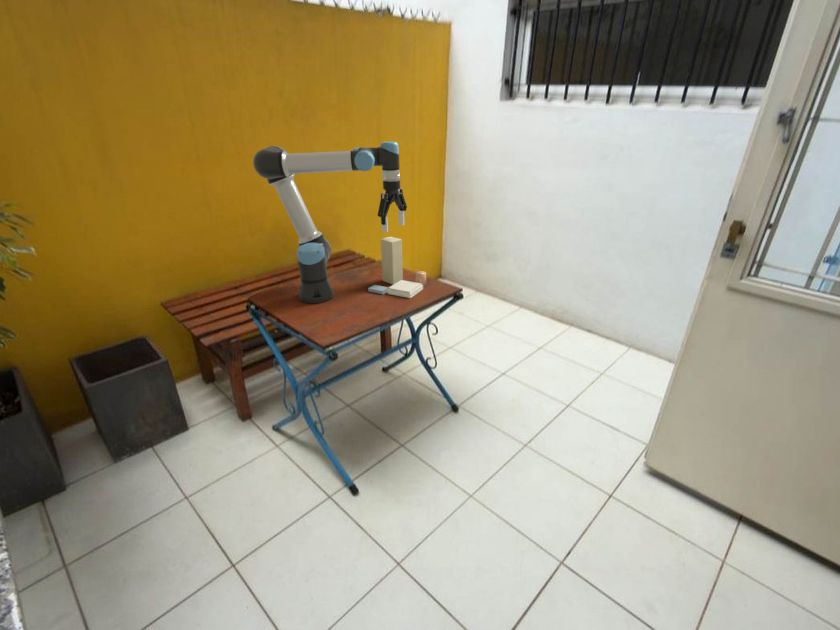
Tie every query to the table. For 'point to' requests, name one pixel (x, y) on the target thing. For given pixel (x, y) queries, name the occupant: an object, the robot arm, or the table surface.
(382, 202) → the robot arm
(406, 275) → the table surface
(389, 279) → the tall cream block
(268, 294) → the table surface
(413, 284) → the podium
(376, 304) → the table surface
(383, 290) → the book
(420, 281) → the peach egg shape
